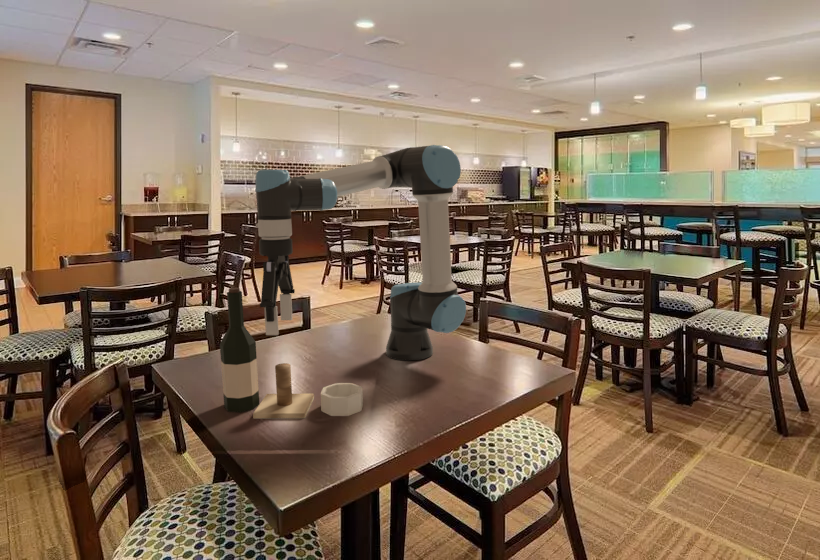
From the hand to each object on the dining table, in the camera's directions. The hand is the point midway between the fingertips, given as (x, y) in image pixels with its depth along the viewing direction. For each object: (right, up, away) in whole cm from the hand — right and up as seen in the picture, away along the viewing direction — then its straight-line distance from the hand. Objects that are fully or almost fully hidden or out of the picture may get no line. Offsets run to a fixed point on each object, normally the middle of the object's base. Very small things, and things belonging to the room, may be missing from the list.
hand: (279, 327), depth 128 cm
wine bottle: (-11, -21, +5) cm, 24 cm away
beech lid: (0, -20, +3) cm, 20 cm away
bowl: (+14, -20, +3) cm, 25 cm away
